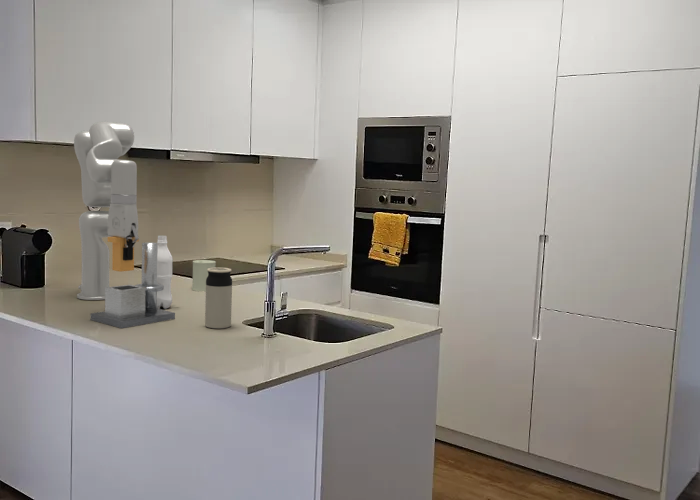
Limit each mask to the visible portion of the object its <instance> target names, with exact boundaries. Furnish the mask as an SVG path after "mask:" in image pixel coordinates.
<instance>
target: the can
mask: <svg viewBox="0 0 700 500" xmlns="http://www.w3.org/2000/svg"><path fill="white" fill-rule="evenodd" d="M216 263H217V261H215V260H209V259H196V260H195V259H194V260H192V286H191V290H192V291H193V290H194V291H195V292H199V291H206V279H207V277H208V271H207V269H208V268H216V265H217V264H216Z"/></svg>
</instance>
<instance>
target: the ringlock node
mask: <svg viewBox="0 0 700 500" xmlns="http://www.w3.org/2000/svg"><path fill="white" fill-rule="evenodd" d="M157 253H158V243H157V242H151V241H150V242H146V241H145V242H142V243H141V283H137V284H134V285H133V284H123V285H114V286H109V287H106V288H105V299H104V304H105V305H104V311H98V312H91V313H90V321H94V322H97V323H100V322H101V323H100V324H104V325H108V326H112V327H115V328H118V327H119V329H125V328H131V327H137V326H141V325H142V326H143V325H148V323H149V324H153V322H154V323H158V322H159V321H160V322H164V321H171V320H175V319H176V312H175V311H174V312H173V311H170V310H166V309H161V308H159V309H157V291H162V290H164V285H162V284H157ZM170 319H171V320H170Z"/></svg>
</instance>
